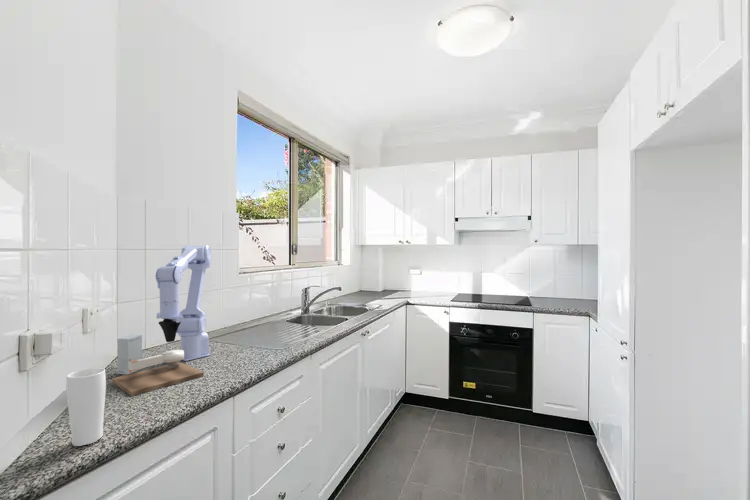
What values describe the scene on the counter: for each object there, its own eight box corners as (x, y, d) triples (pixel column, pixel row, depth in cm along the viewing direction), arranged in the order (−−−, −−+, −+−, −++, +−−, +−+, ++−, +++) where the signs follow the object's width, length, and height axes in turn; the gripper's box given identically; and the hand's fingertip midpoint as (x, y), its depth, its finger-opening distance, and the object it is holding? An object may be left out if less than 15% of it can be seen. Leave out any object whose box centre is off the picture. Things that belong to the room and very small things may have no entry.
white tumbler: (82, 434, 83) (80, 368, 82) (114, 432, 83) (112, 366, 83) (59, 451, 76) (57, 378, 76) (93, 448, 76) (92, 377, 76)
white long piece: (178, 355, 131) (178, 348, 130) (188, 358, 126) (187, 351, 126) (125, 368, 117) (125, 360, 117) (134, 372, 113) (134, 363, 113)
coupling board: (180, 365, 131) (180, 355, 131) (203, 375, 120) (203, 365, 120) (112, 382, 116) (111, 371, 116) (131, 396, 104) (131, 383, 104)
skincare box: (128, 375, 122) (127, 339, 122) (117, 374, 123) (116, 338, 123) (143, 369, 128) (142, 334, 128) (132, 368, 129) (131, 334, 129)
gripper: (147, 301, 125) (148, 341, 125) (167, 304, 117) (168, 347, 117) (168, 298, 131) (169, 336, 131) (189, 301, 122) (190, 342, 122)
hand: (170, 341), depth 124 cm, fingers closed
